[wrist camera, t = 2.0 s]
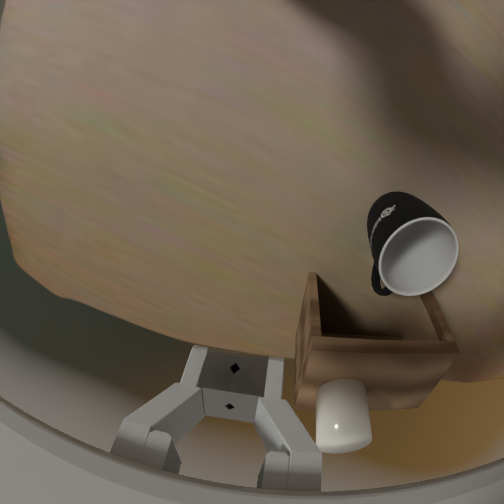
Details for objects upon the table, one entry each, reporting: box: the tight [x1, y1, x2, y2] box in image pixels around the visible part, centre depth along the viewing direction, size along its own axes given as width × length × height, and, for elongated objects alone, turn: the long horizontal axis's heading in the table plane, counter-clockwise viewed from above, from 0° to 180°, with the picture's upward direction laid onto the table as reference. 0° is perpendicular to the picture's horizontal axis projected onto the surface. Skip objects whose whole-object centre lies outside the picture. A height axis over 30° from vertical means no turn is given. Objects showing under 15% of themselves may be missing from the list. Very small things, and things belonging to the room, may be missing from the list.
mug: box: [367, 192, 459, 296], centre depth 31 cm, size 12×9×10 cm
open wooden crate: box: [294, 273, 460, 410], centre depth 36 cm, size 12×18×14 cm, turn 87°
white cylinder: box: [316, 378, 372, 453], centre depth 29 cm, size 6×6×7 cm
